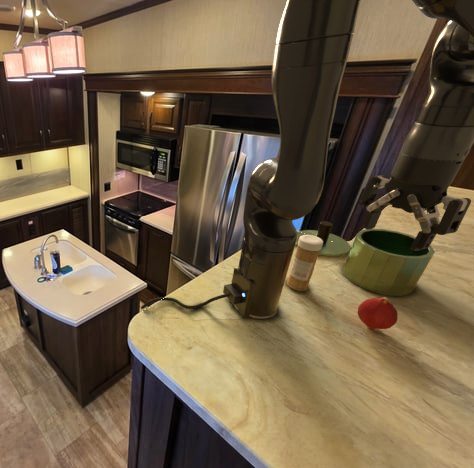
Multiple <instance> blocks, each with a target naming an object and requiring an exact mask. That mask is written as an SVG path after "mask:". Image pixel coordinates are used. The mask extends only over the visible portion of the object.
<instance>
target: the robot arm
mask: <svg viewBox="0 0 474 468" xmlns="http://www.w3.org/2000/svg"><path fill="white" fill-rule="evenodd" d="M411 1H412V2H413V4H414V5H415V6H416V7H417V8H418V10H419V11H420V12H421V13H422V14H423V15H424V16H426V17H427V18H430V19H434V20H435V19H437V20H447V23H445V25H444V26H443V28H442V29H441V31H440V32H439V34H438V36H437V37H436V40H435V42H434V44H433V47H432V48H433V49H432V51H431V57H430V58H431V59H430V65H429V70H428V71H429V72H428V77H427V78H428V80H427V92H426V93H427V94H426V96H425V98H424V101H423V102H422V105H421V107H420V109H419V111H418V114H417V116H416V119H415V121H414V123H413V125H412V127H411V128H410V130H409V131H408V134H407V135H406V138H405V139H404V141H403V144H402V147H401V149H400V151H399V153H398V156H397V158H396V161H395V163H394V165H393V168H392V169H391V172H390V178H387V176H386V175H385V174H380V175H375V176H371V177H369V178H368V181H367V183H366V186H365V187H364V190H363V191H362V193H361V196H360V198H359V200H358V204H359V205H360V206H363V207H365V208H366V213H365V215H364V217H363V220H362V225H363V226H362V228H363V229H364V230H366V229H367V230H368V229H375V228H376V227H377V224H378V222H379V219H380V217H381V215H382V212H383V211H381V210H383V209H385V208H387V207H389V206H391V207H392V208H395V209H400V210H402V211H404V212H406V213H409V214H413V216H414V219H415V221H417V222H418V224H419V226H420V231H418V232H417V234H416V236H415V237H416V238H415V240H414V242H413V244H412V246H411V248H410V249H412V250H414V251H419V250H422V249H426V248H428V247H429V246H431V244H432V243H433V241H434V239H435V238H436V235H438V236H445V235H448V234H455V233H457V232H458V231H459V228H460V226H461V224H462V221H463V220H464V217H465V216H466V214H467V212H468V209H469V207H470V206H471V203H472V200H471V198H469V197H462V198H461V197H455V196H450V195H448V189H449V187H450V186H451V185H452V183H453V182H454V180H455V178H456V176H457V174H458V172H459V171H460V169H461V167H462V165H463V164H464V161H465V159H466V157H468V155H469V154H470V152H471V149H472V147H473V145H474V0H411ZM360 5H361V0H287V1H286V3H285V6H284V9H283V12H282V15H281V18H280V21H279V25H278V29H277V33H276V38H275V43H274V44H275V45H274V52H273V58H272V66H271V78H270V79H271V81H270V82H271V83H270V84H271V94H272V99H273V104H274V108H275V112H276V117H277V122H278V127H279V137H280V144H279V152H278V157H272V158H268V159H266V160H264V161H262V162H261V163H259V165H257V167H256V168H254V170H253V171H252V173H251V175H250V177H249V180H248V183H247V186H246V192H245V200H244V207H243V216H242V218H243V219H242V221H243V222H242V223H243V228H244V235H243V239H242V244H241V245H242V246H241V252H240V256H239V262H238V266H235V267H234V268H233V272H232V278H231V283H227V284H224V285H223V291H222V293H223V294H219V295H217V296H214V297H212V298H209V299H207V300H206V301H204V302H201V303H197V304H193V305H188V304H184V303H182V302H181V301H180V300H178V299H177V298H174V297H168V296H166V298H165V296H164V297H163V296H162V297H156V298H153V299H150V300H148V301H147V302H145V303H144V304H143V305H141V306H140V309H142V310H143V309H145V308H146V307H148V306H149V305H151V304H154V303H155V302H163V301H165V302H166V301H167V302H173V303H176V304H177V305H179V306H180V307H182V308H184V309H186V310H187V309H188V310H195V309H199V308H201V307H204V306H206V305H209V304H210V303H212V302H215V301H218V300H221V299H225V298H227V300H228V301H229V303H230V304H231V305H232V306H233V307H234V308H235V310H236V311H237V312H238V313H239V314H240V316H242V317H243V318H251V319H256V320H268V319H270V318H274V316H276V314H277V313H278V307H279V303H280V300H281V296H282V293H283V289H284V285H285V283H286V279H287V275H288V271H289V269H290V264H291V261H292V258H293V254H294V251H295V247H296V241H297V236H298V235H297V232H298V230H297V228H296V226H295V224H294V223H293V221H297V220H299V219H302V218H304V217H305V216H307V215H308V214H310V212H311V211H312V210H314V208H315V207H316V206H317V204H318V202H319V200H320V199H321V196H322V193H323V190H324V185H325V179H326V169H327V161H328V152H329V145H330V137H331V132H332V126H333V122H334V118H335V113H336V109H337V103H338V98H339V94H340V90H341V85H342V81H343V77H344V73H345V69H346V66H347V64H348V59H349V55H350V51H351V48H352V47H351V46H352V43H353V38H354V33H355V28H356V23H357V18H358V13H359V10H360V9H359V8H360ZM381 189H385V192H386V194H385V195H384V196H383V195H382V196H381V197H380V198H378V196H379V194H380V192H381ZM377 198H378V199H377ZM439 204H443V207H442V210H444V213H443V215H442V217H441V219H440V215H441V213H440V211H439V209H438V205H439ZM163 298H164V299H163ZM161 299H162V300H161Z"/></svg>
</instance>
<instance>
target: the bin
mask: <svg viewBox="0 0 474 468" xmlns="http://www.w3.org/2000/svg"><path fill="white" fill-rule="evenodd" d="M354 237H355V238H354V240H353V243H352V245H351V246H350V251H349V252H348V255H347V257H346V261H345V262H344V265H343V269H342V272H343V275H344V276H345V277H346V278H347V279H348V281H350V282H351V283H353V284H355V285H356V286H358V287H360V288H362V289H363V290H367V291H369V292H372V293H374V294H375V293H376V294H380V295H384V296H389V297H390V296H391V297H403V296H408V295H410V294H411V293H412V292H413V290H415V288H416V287H417V285H418V283H419V281H420V279H421V277H422V275H423V274H424V272H425V271H426V268H427V267H428V265H429V263H430V261H431V260H432V258H433V256H434V254H435V253H436V251H435V250H434V248H433V246H431V245H430V246H429V247H428V248H426V249H422V250H419V251H414V250H412V249H410V248H411V246H412V244H413V242H414V240H415V238H416V236H414V235H410V234H408V233H404V232H400V231H396V230H390V229H383V228H373V229H368V230H367V229H361V230H359V232H358V233H356V234H355V236H354Z"/></svg>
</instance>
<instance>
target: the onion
mask: <svg viewBox="0 0 474 468" xmlns="http://www.w3.org/2000/svg"><path fill="white" fill-rule="evenodd" d="M357 316H358V318H359V320H360V321H361V323H363V324H364V325H365V326H366V327H367V328H368V329H371V330H387V329H390V328H392V327H393V326H395V325H396V324H397V322H398V311H397V309H396V307H395V306H394V304H393V303H391V301H389V299H388V297H385V296H383V297H371V298H368V299H365V300H364V301H362V302H360V304H359V305H358V307H357Z"/></svg>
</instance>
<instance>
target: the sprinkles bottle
mask: <svg viewBox="0 0 474 468" xmlns="http://www.w3.org/2000/svg"><path fill="white" fill-rule="evenodd" d="M322 245H323V240H322V239H320V238H319V237H316V236H313V235H302V236H300V238H299V241H298V246H297V248H296V250H295V251H296V252H295V254H294V257H293V260H292V264H291V267H290V271H289V276H288V278H287V281H286V284H287V286H288V287H289V288H290V289H292V290H294V291H298V292H305V291H307V290H308V289H309V284H310V281H311V279H312V276H313V273H314V270H315V266H316V264H317V260H318V257H319V251H320V250H321V248H322Z"/></svg>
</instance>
